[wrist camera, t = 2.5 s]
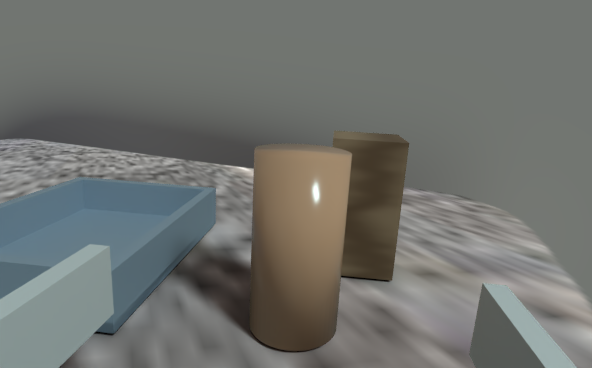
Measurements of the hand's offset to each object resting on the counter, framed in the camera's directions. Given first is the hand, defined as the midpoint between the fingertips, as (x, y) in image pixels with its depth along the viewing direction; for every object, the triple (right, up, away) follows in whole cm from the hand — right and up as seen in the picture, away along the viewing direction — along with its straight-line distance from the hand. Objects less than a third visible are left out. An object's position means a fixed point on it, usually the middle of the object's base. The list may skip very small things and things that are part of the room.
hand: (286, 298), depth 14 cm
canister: (0, -4, +9) cm, 10 cm away
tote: (-15, -1, +16) cm, 22 cm away
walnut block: (+5, -2, +17) cm, 18 cm away
